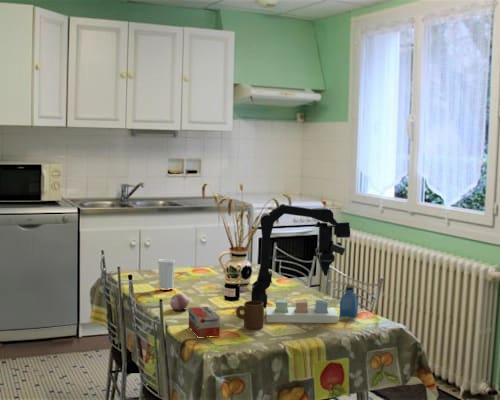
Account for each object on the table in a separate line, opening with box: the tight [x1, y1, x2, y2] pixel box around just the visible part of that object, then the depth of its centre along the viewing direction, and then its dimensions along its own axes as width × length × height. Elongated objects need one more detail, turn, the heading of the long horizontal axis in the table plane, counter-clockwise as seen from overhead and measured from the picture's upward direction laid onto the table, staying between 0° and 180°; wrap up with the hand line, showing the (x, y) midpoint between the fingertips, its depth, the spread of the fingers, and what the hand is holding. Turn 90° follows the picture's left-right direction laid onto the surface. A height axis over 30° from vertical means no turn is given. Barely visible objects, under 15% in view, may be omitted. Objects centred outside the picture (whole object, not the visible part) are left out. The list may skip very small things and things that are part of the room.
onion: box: [169, 293, 190, 311], centre depth 276 cm, size 8×8×7 cm
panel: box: [265, 306, 339, 324], centre depth 266 cm, size 28×12×3 cm, turn 90°
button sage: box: [275, 299, 288, 312], centre depth 265 cm, size 4×4×4 cm
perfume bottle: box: [339, 285, 359, 319], centre depth 271 cm, size 6×6×12 cm
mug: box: [235, 300, 265, 330], centre depth 251 cm, size 12×8×9 cm, turn 127°
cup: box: [157, 258, 176, 289], centre depth 310 cm, size 8×8×14 cm
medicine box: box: [188, 305, 220, 338], centre depth 245 cm, size 15×8×8 cm, turn 20°
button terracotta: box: [295, 299, 308, 313], centre depth 265 cm, size 4×4×4 cm
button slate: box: [314, 299, 329, 313], centre depth 265 cm, size 4×4×4 cm
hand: (324, 273), depth 283 cm, fingers open, 9 cm apart
